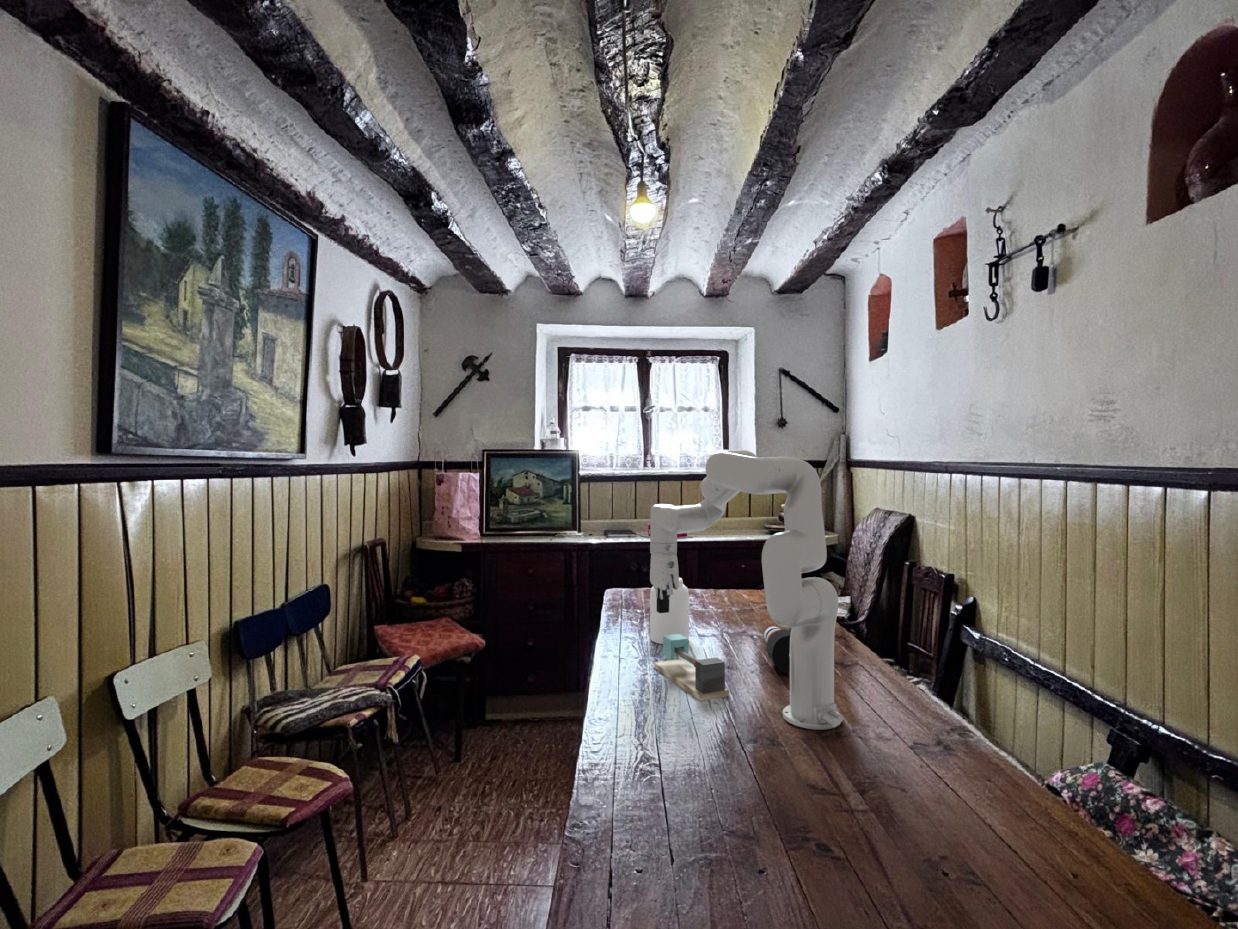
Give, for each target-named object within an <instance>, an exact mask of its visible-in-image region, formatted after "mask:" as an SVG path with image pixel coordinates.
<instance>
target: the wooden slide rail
mask: <svg viewBox="0 0 1238 929" xmlns="http://www.w3.org/2000/svg"><path fill="white" fill-rule="evenodd" d="M675 654H676V655H677V656H678V657H680V658H682V659H683V660H682V659H680V658H679V659H674V660H670V659H669V660H663V661H658V662H656V661H655V662H654V664H653V666H654V669H655V670H657V671H658V672H659V673H661V674H662V675H663V676H665V677H666V678H667V679H669V680H671V682H673V683H675V684H676V685H677V686H679V688H682V689H683V690H684V691H686V692H687V693H689V695H691V696H693V697H694V699H697V700H698V702H699V701H700V702H701V701H706V700H707V701H708V700H712V699H720V698H724V697H725V698H727V697H729V689H728V688H726V662H725V661H723V660H721V658H719V657H710V658H702V659H699V658H695V657H694V656H692V655H690V654H689V653H688V654H687V653H685V652H684V651H682V650H680V649H679V648H677V647H675V648H674V655H675ZM684 660H685V661H687V662H688V663H690V664H691V665H690V664H688V663H687V662H685V661H684ZM692 665H693V666H692Z"/></svg>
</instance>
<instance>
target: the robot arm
mask: <svg viewBox="0 0 1238 929" xmlns="http://www.w3.org/2000/svg"><path fill="white" fill-rule="evenodd" d="M704 469H705V474H706V476H705V477H704V478H703V480H701V483H700V492H701V493H702V494H701V495H702V496H703V497H704V498H703V500H701V501H700V502H698V503H697V504H684V505H674V504H669V503H657V504H654V505H652V506H651V508H650V534H649V535H650V536H649V537H650V541H649V542H650V545H649V551H650V552H649V553H650V554H651V555H650V564H649V566H650V567H649V568H650V569H649V582H650V584H651V585H652V587H654V588H655V590H656V597H657V612H659V613H668V612H669V599H670V595H673V588H674V589H678V588H679V578H680V576H679V574H680V573H679V562H678V555H677V554H678V553H677V552H678V535H679V534H681V535H682V534H689V533H695V532H696V533H697V532H703V531H705V530H707V529H709V528H710V527H711V526H713V525H714V524H716V522H718V521H719V520H720V519H721V518H722V517H723V516H724V513H725V512H726V509H727V503H729V501H731V500H732V499H733V498H735V497H736V496H737V495H738V494H739V493H741V492H742V493H746V494H750V495H760V496H761V495H772V494H773V495H775V494H786V495H787V496H786V499H785V502H784V506H783V515H782V516H783V519H784V520H783V521H784V522H783V523H784V531H781V532H775V533H774V534H772V535H770V537H768V538H767V539H766V541H765V543H764V544H763V547H762V552H761V567H762V577H763V579H762V580H763V586H764V587H763V589H764V597H765V598H764V599H765V605H766V609H767V613H768V615H769V617H770V618H771V619H772V621H773V622H774V623H775V624H777V625H778V626H779V627H783V628H787V629H789V628H790V629H791V630H790V631H791V634H790V674H789V704H788V705H786V706H785V707H784V708H783V709H782V718H783V719H784V720H785V721H786V722H788V723H790V724H792V725H793V726H796V727H800V728H802V729H808V730H818V731H819V730H824V731H825V730H831V729H835V728H838V726H840V725H841V724H842V722H843V721H844V716H843V715H842V714H841V713H840V712H839V711H838V710H837V704H836V703H835V630H836V622H837V617H838V613H839V595H838V592H837V590H836V588H835V587H834V586H833V584H832V583H831V582H829V581H828V580H827V579H825V578H821V577H816V576H813V577H811V576H810V577H804V578H802V574H804V573H805V574H806V573H811V572H814V571H817V570H819V569H821V568H823V566H824V565H825V564H826V562H827V556H828V553H827V543H826V542H827V541H826V534H825V533H826V532H825V524H824V522H825V521H824V516H823V508H822V486H821V479H820V477H819V474H818V472H817V471H816V469H815V468H814V467H813V466H812V465H811V464H810V463H809V462H807V461H805V460H803V459H800V458H797V457H792V456H790V457H789V456H760V457H759V456H757V455H756V454H755V453H754V452H752V451H748V450H746V449H720V450H717V451H715V452H713V453H712V454H711V455H710V456H709V457H708V459H707V460H706V463H705V468H704ZM666 587H667V588H666Z"/></svg>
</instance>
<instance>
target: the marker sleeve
mask: <svg viewBox="0 0 1238 929" xmlns="http://www.w3.org/2000/svg"><path fill="white" fill-rule="evenodd" d="M688 644H689V640H688V638H686V637H684V636H682V635H680V634H674V635H665V636H663V644H662V656H664V657H666V658H667V659H669V661H670V660H675V653H674V648H675V647H677V648H679V649H680V650H682V651H684V652H685V653H687V654H689V652H688V646H689V645H688Z"/></svg>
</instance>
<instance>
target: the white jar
mask: <svg viewBox="0 0 1238 929" xmlns="http://www.w3.org/2000/svg"><path fill="white" fill-rule="evenodd" d="M666 588H667V587H666ZM689 593H690V592H689V588H688V586H686V585H685V584H684V581H683V578H682V577H679V588H678V589H674V588H673V595H670V599H669V612H668V613H659V612H657V597H656V590H655V588H654V587H653V586H652V587H651V588H650V593H649V615H650V616H649V632H650V633H649V638H650V640H651V641H652V642H653V643H656V644H659V645H663V636H665V635H674V634H680V635H682V636H684V637H686V638H688V641H689V639H690V594H689Z"/></svg>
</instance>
